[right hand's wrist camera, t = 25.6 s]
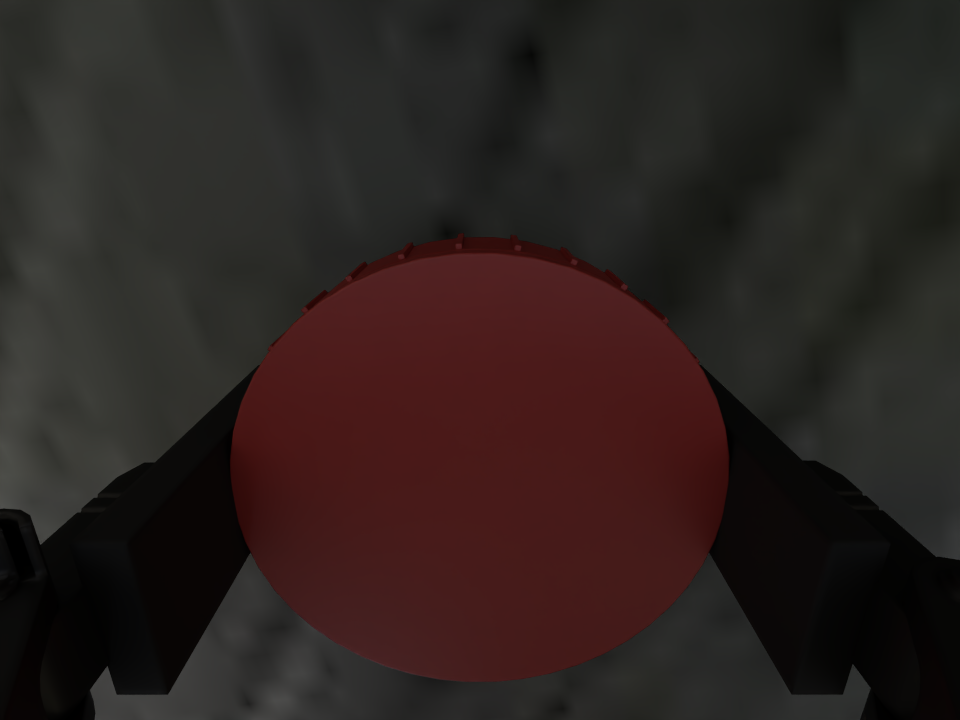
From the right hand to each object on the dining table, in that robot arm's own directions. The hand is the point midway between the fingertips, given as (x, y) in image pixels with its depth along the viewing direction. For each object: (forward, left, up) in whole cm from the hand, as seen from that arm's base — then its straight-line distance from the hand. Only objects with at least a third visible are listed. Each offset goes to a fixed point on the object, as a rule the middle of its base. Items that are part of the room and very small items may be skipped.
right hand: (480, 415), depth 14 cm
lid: (0, 0, +3) cm, 3 cm away
